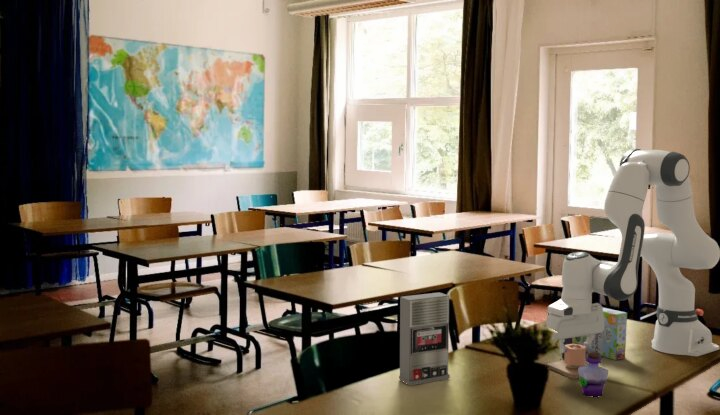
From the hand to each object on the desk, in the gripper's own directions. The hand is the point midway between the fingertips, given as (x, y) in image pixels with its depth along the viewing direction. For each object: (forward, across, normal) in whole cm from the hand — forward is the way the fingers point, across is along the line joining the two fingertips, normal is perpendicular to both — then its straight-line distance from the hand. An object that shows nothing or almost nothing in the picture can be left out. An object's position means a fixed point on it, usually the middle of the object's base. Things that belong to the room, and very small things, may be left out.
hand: (575, 350), depth 234 cm
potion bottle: (+6, +10, +19) cm, 23 cm away
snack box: (+7, -20, -13) cm, 24 cm away
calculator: (+7, -9, -14) cm, 18 cm away
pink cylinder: (+4, 0, 0) cm, 4 cm away
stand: (+6, 0, 0) cm, 6 cm away
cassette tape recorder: (+6, +46, -12) cm, 48 cm away
